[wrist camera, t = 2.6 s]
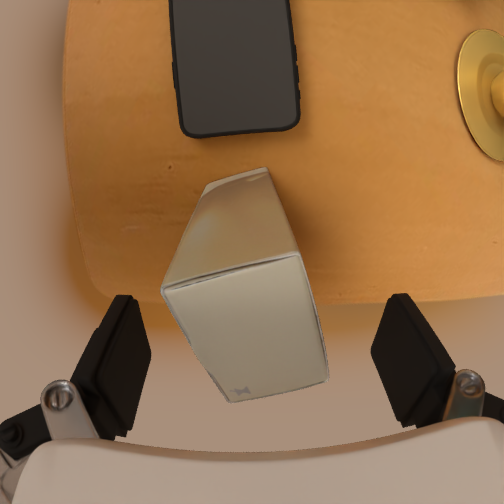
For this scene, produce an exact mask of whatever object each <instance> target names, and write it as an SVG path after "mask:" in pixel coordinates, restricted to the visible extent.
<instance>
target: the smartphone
mask: <svg viewBox="0 0 504 504" xmlns="http://www.w3.org/2000/svg"><path fill="white" fill-rule="evenodd" d="M169 18H170V33H171V47H172V59H173V62H172V70H173V80H174V88H175V90H176V99H177V108H178V116H179V124H180V128H181V130H182V132H183V133H184V134H185V135H186V136H188V137H191V138H197V139H202V138H210V137H218V136H227V135H238V134H249V133H262V132H279V131H286V130H289V129H292V128H293V127H295V126H296V125H297V124H298V123H299V120H300V115H301V112H300V99H301V98H300V90H299V86H298V83H299V74H298V66H297V63H296V61H297V53H296V45H295V43H294V35H293V26H292V18H291V10H290V3H289V0H169Z"/></svg>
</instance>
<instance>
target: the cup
mask: <svg viewBox="0 0 504 504" xmlns="http://www.w3.org/2000/svg"><path fill="white" fill-rule="evenodd" d="M457 77H458V90H459V97H460V102H461V106H462V110H463V114H464V117H465V120H466V123H467V125H468V127H469V130H470V132H471V134H472V136H473V137H474V139H475V141H476V142H477V144H478V145H479V146H480V148H481V149H482V150H483V151H484V152H485V153H486V154H487V155H489V156H490V157H491V158H493V159H495V160H498V161H504V37H503V36H502V35H500V34H499V33H497V32H495V31H492V30H488V29H481V30H477V31H475V32H473V33H471V34H470V35H469V36H468V37H467V39H466V40H465V42H464V44H463V46H462V48H461V51H460V55H459V60H458V72H457Z"/></svg>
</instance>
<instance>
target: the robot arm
mask: <svg viewBox="0 0 504 504" xmlns="http://www.w3.org/2000/svg"><path fill="white" fill-rule="evenodd" d="M371 356H372V359H373V361H374V363H375V366H376V368H377V370H378V373H379V376H380V378H381V381H382V383H383V386H384V388H385V391H386V393H387V396H388V398H389V401H390V404H391V406H392V409H393V412H394V414H395V417H396V419H397V421H400V422H401V425H402V427H403V428H404V427H408V426H412V425H416V428H417V429H414V430H410V431H406V432H402V433H398V434H394V435H390V436H385V437H381V438H376V439H371V440H366V441H361V442H355V443H350V444H344V445H337V446H330V447H322V448H313V449H303V450H293V451H276V452H243V453H242V452H235V453H234V452H206V451H190V450H178V449H169V448H160V447H151V446H144V445H136V444H130V443H124V442H117V441H114V440H115V436H121V437H126V434H127V431H128V430H129V431H130V430H132V427H133V424H134V420H135V416H136V411H137V408H138V404H139V400H140V396H141V392H142V389H143V385H144V382H145V378H146V375H147V371H148V367H149V364H150V361H151V349H150V346H149V342H148V339H147V335H146V331H145V328H144V324H143V320H142V316H141V312H140V308H139V304H138V301H137V300H136V299H133V297H132V296H131V295H116V296H115V298H114V300H113V302H112V303H111V305H110V307H109V309H108V311H107V313H106V315H105V316H104V318H103V320H102V322H101V324H100V326H99V328H97V329H96V330H95V331H94V333H93V334H92V336H91V338H90V340H89V342H88V345H87V346H86V348H85V350H84V352H83V354H82V356H81V358H80V360H79V362H78V364H77V366H76V369H75V371H74V373H73V375H72V377H71V379H70V381H67V380H57V381H53V382H52V383H50V384H48V385H47V386H46V387H45V388H44V390H43V391H42V393H41V397H40V400H41V404H38V405H36V406H34V407H32V408H30V409H28V410H26V411H24V412H22V413H20V414H17V415H15V416H13V417H11V418H9V419H7V420H5V421H4V422H2V423H1V424H0V504H504V400H503V399H500V398H498V397H496V396H494V395H492V394H489V393H487V392H485V384H484V381H483V379H482V378H481V376H480V375H478V374H477V373H476V372H474V371H472V370H469V369H463V370H460V371H458V372H457V373H456V371H455V370H454V369H455V367H456V366H455V364H454V362H453V361H452V359H451V357H450V356H449V354H448V353H447V351H446V349H445V348H444V346H443V345H442V343H441V342H440V340H439V339H438V337H437V336H436V334H435V332H434V331H433V329H432V328H431V326H430V325H429V323H428V322H427V321H426V319H425V318H424V316H423V314H422V313H421V312H420V310H419V309H418V307H417V306H416V304H415V303H414V302H413V300H412V299H411V297H410V296H409V295H408V294H407V293H400V294H393V295H392V296H391V298H389V299H388V300H387V303H386V306H385V309H384V313H383V316H382V318H381V321H380V324H379V327H378V330H377V333H376V335H375V339H374V341H373V344H372V346H371Z"/></svg>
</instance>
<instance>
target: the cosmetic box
mask: <svg viewBox="0 0 504 504" xmlns="http://www.w3.org/2000/svg"><path fill="white" fill-rule="evenodd" d="M160 292H161V295H162V297H163V298H164V300H165V302H166V304H167V305H168V307H169V309H170V311H171V313H172V315H173V316H174V318H175V320H176V321H177V323H178V325H179V327H180V329H181V330H182V332H183V334H184V335H185V337H186V339H187V340H188V343H189V344H190V346H191V348H192V350H193V351H194V353H195V355H196V357H197V358H198V360H199V361H200V363H201V364H202V365H203V367H204V368H205V369H206V370H207V372H208V374H209V375H210V377H211V378H212V380H213V382H214V383H215V384H216V386H217V387H218V389H219V390H220V392H221V393H222V395H223V396H224V398H225V399H226V401H227V402H228V403H236V402H241V401H246V400H253V399H258V398H263V397H268V396H273V395H277V394H283V393H287V392H291V391H296V390H300V389H304V388H307V387H311V386H314V385H317V384H320V383H325V382H327V381H328V380H329V369H328V361H327V354H326V348H325V343H324V338H323V333H322V329H321V325H320V321H319V316H318V312H317V308H316V304H315V301H314V297H313V293H312V290H311V286H310V282H309V279H308V276H307V272H306V269H305V266H304V262H303V259H302V256H301V253H300V250H299V248H298V245H297V242H296V240H295V237H294V234H293V232H292V229H291V227H290V224H289V222H288V219H287V216H286V214H285V211H284V209H283V206H282V204H281V201H280V199H279V196H278V194H277V191H276V188H275V186H274V184H273V181H272V178H271V175H270V173H269V171H268V168H267V167H263V168H259V169H255V170H251V171H247V172H244V173H240V174H237V175H233V176H230V177H227V178H224V179H221V180H217V181H214V182H211V183H209V184H207V185H206V187H205V189H204V191H203V193H202V195H201V197H200V199H199V201H198V203H197V206H196V208H195V210H194V212H193V214H192V216H191V218H190V221H189V223H188V225H187V227H186V229H185V232H184V234H183V236H182V238H181V241H180V243H179V245H178V248H177V250H176V252H175V255H174V257H173V259H172V261H171V263H170V266H169V268H168V271H167V273H166V275H165V278H164V280H163V283H162V285H161V288H160Z"/></svg>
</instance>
